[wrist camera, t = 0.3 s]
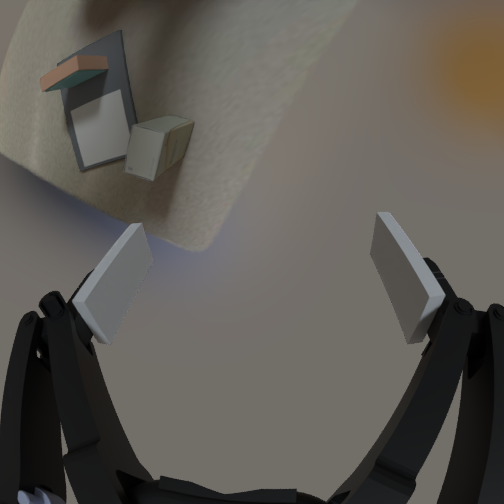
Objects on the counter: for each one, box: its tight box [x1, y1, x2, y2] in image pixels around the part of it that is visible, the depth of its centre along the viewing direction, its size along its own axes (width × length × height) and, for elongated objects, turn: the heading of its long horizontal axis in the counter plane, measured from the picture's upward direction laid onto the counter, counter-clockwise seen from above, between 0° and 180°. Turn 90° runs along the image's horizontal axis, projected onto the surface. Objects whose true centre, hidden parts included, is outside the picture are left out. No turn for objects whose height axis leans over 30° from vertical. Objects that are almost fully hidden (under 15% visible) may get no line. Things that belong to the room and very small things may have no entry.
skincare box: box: [123, 115, 194, 181], centre depth 32 cm, size 6×4×12 cm
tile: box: [40, 55, 109, 92], centre depth 27 cm, size 3×8×8 cm, turn 98°
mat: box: [57, 30, 138, 171], centre depth 34 cm, size 22×14×1 cm, turn 8°
